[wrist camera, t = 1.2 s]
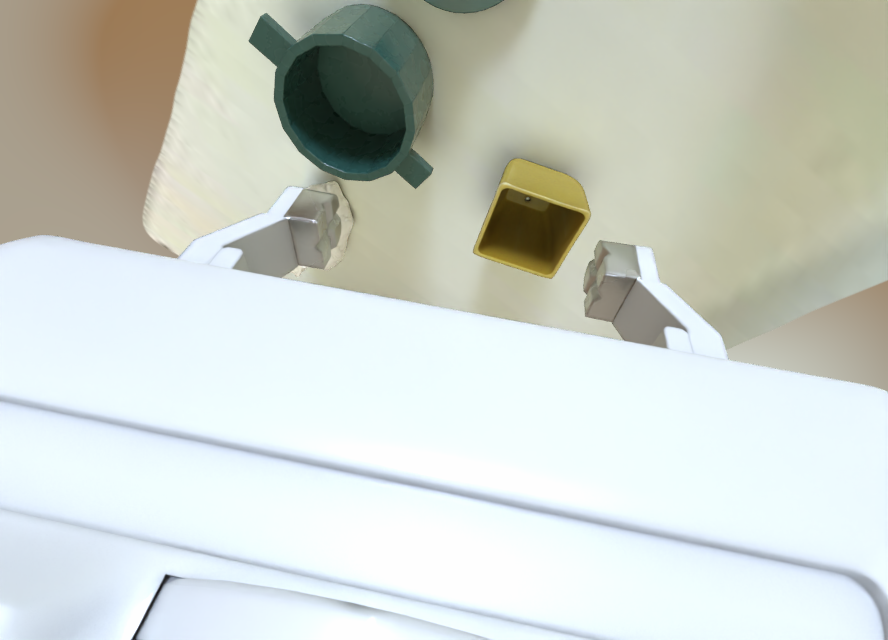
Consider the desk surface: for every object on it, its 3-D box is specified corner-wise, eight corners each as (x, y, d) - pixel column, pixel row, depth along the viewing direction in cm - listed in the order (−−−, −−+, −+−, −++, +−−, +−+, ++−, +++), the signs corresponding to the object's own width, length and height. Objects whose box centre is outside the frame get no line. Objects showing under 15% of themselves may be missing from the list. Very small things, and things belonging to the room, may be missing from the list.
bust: (327, 157, 52) (235, 189, 47) (364, 186, 49) (270, 223, 44) (339, 238, 61) (263, 273, 56) (371, 267, 58) (294, 307, 52)
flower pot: (481, 205, 51) (471, 255, 45) (508, 135, 44) (500, 182, 39) (552, 229, 52) (551, 280, 46) (589, 163, 45) (593, 213, 39)
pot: (328, -62, 35) (284, -42, 30) (479, 101, 43) (467, 142, 37) (266, 55, 43) (222, 89, 37) (403, 177, 50) (384, 221, 44)
